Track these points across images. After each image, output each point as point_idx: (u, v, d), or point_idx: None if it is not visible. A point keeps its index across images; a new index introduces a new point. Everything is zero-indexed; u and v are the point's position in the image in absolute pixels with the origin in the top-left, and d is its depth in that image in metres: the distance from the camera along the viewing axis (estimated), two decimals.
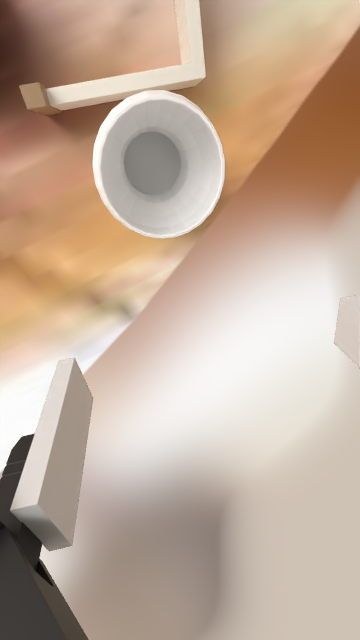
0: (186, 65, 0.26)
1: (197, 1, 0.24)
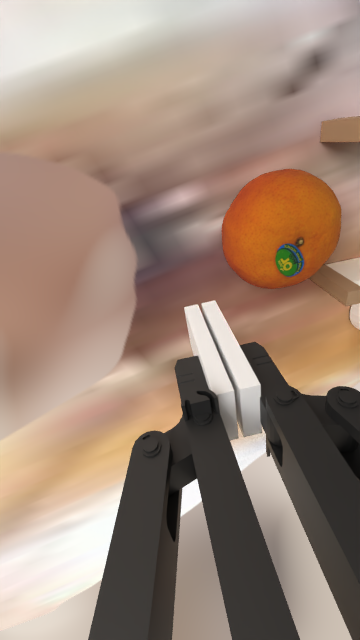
0: None
1: None
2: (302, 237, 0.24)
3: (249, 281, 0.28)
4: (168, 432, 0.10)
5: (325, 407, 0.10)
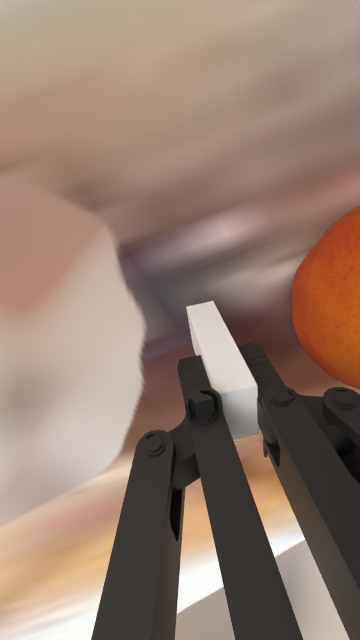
0: None
1: None
2: None
3: (342, 381, 0.16)
4: (171, 431, 0.10)
5: (322, 408, 0.10)
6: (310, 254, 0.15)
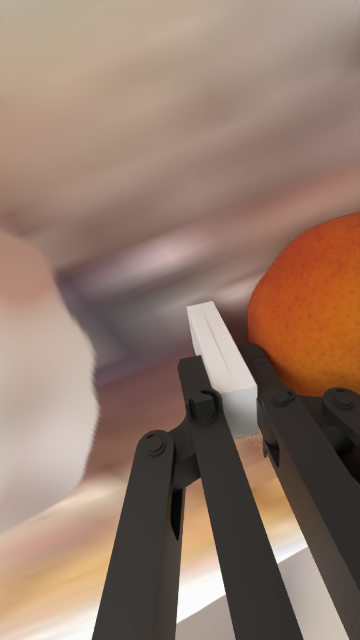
0: None
1: None
2: None
3: None
4: (172, 431, 0.10)
5: (321, 408, 0.10)
6: (263, 278, 0.15)
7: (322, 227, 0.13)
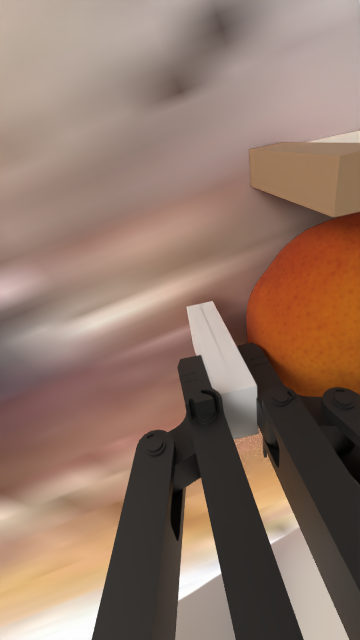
0: None
1: None
2: None
3: None
4: (172, 431, 0.10)
5: (321, 408, 0.10)
6: (262, 277, 0.15)
7: (322, 226, 0.13)
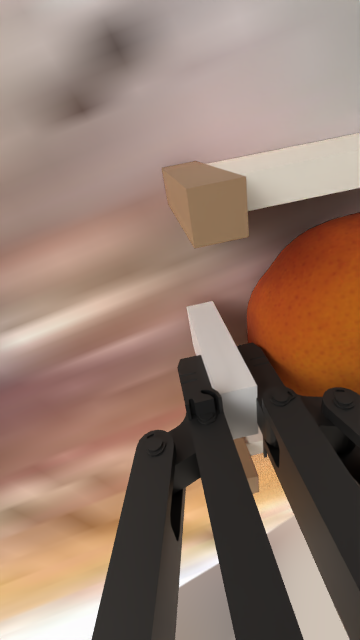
0: None
1: None
2: None
3: None
4: (172, 431, 0.10)
5: (321, 408, 0.10)
6: (263, 277, 0.15)
7: (323, 227, 0.13)
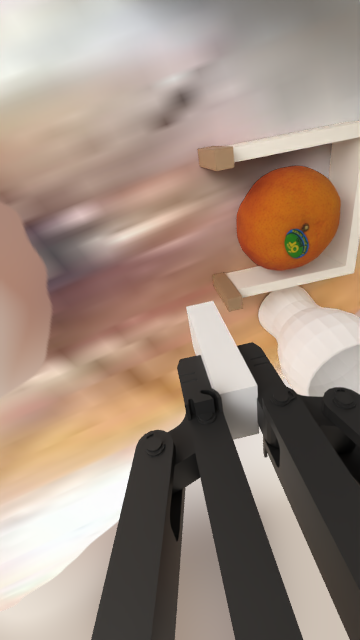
0: (341, 267, 0.34)
1: (359, 231, 0.32)
2: (307, 224, 0.28)
3: (260, 263, 0.32)
4: (171, 431, 0.10)
5: (322, 408, 0.10)
6: (243, 200, 0.31)
7: (267, 173, 0.30)
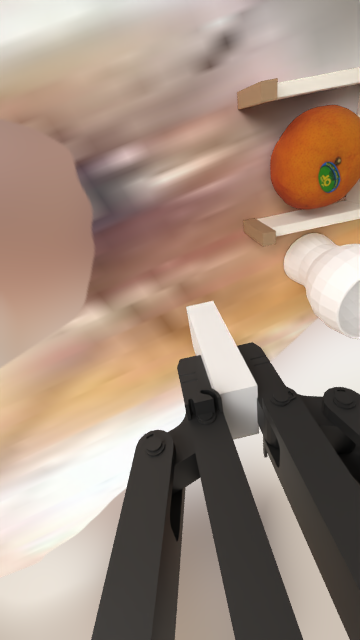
0: None
1: None
2: (340, 157, 0.31)
3: (293, 200, 0.34)
4: (171, 431, 0.10)
5: (322, 408, 0.10)
6: (278, 141, 0.34)
7: (302, 113, 0.32)
